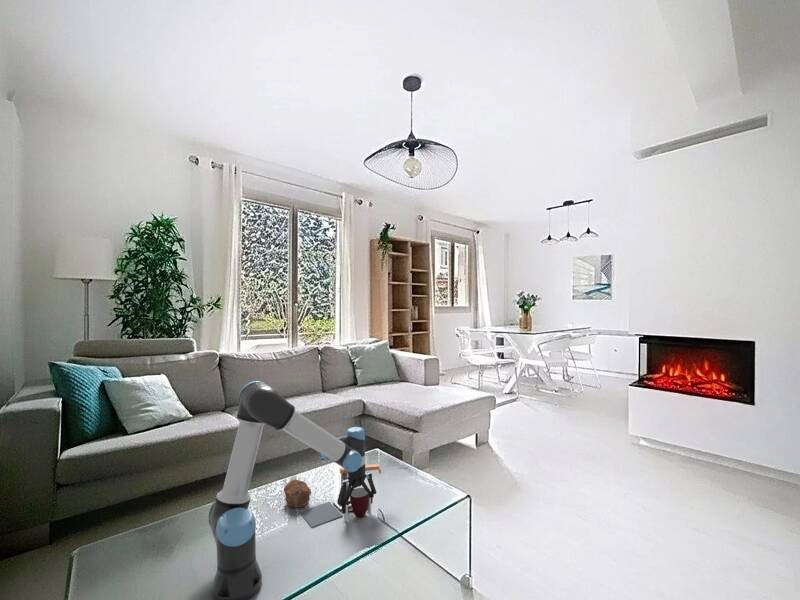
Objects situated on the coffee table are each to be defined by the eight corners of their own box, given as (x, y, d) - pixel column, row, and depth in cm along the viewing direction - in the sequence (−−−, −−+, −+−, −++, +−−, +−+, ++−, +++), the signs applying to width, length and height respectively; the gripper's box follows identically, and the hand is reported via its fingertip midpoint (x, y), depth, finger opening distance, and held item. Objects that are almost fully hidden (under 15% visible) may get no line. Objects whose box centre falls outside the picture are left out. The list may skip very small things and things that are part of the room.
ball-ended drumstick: (381, 474, 176) (381, 466, 176) (340, 478, 173) (339, 471, 173) (379, 470, 180) (379, 463, 180) (339, 474, 177) (339, 467, 177)
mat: (311, 528, 158) (311, 527, 158) (299, 512, 170) (299, 511, 170) (342, 516, 166) (342, 515, 166) (329, 502, 178) (329, 501, 178)
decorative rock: (280, 502, 179) (279, 480, 178) (302, 493, 186) (301, 472, 186) (292, 513, 169) (292, 491, 169) (315, 504, 176) (315, 482, 176)
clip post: (340, 511, 170) (340, 478, 170) (333, 503, 176) (332, 472, 176) (356, 505, 174) (356, 473, 174) (348, 498, 181) (348, 467, 181)
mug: (351, 525, 160) (350, 501, 159) (342, 516, 166) (341, 493, 166) (373, 516, 166) (372, 493, 165) (363, 507, 172) (362, 485, 172)
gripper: (335, 475, 156) (336, 529, 156) (383, 460, 169) (384, 510, 169) (328, 468, 162) (329, 520, 162) (375, 454, 175) (376, 503, 175)
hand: (357, 515), depth 166 cm, fingers closed on mug, 10 cm apart
